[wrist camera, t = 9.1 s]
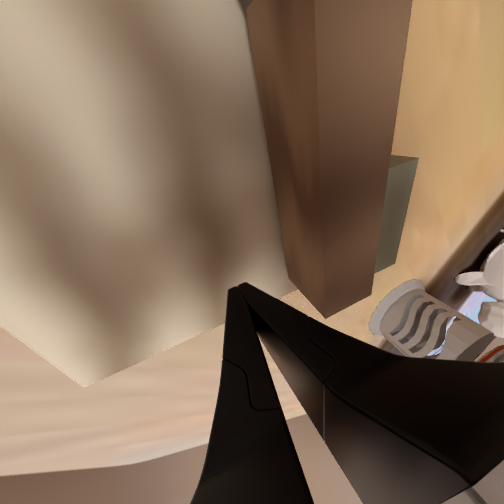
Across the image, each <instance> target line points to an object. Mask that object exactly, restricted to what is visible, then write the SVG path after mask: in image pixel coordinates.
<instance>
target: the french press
mask: <svg viewBox="0 0 504 504" xmlns="http://www.w3.org/2000/svg"><path fill="white" fill-rule="evenodd" d="M430 301H432V302H433V303H434V304H433V305H428V303H429V302H430ZM427 305H428V306H427ZM440 308H443V309H445V311H444V312H442V313H440V314H439V315H438V316H437V317H436V315H437V310H438V309H440ZM429 316H430V325H429V329H428V331H427V332H426V334H425V335H424V336H423V334H424V332H425V328H426V324H427V320H428V317H429ZM451 316H456V318H455V319H454V320H453V323H452V325H451V326H450V328H449V329H448V330H447V334H446V323H447V319H448V317H451ZM439 330H440V333H439ZM369 331H370V332H371V333H373V334H374V335H383V336H384V337H385V338H386V339H387V340H389V341H390V342H391V343H392V344H393V345H394V346H395V347H396V348H397V349H399V350H400V351H401V352H402V353H403V354H404V355H405V356H407V357H417V358H431V359H445V360H455V359H456V358H457V357H458V356H459V355H460V356H459V357H458V359H457V360H460V361H474V360H475V359H476V358H477V357H478V356H479V355H480V354H481V353H482V352H483V351H484V350H485V348H486V347H487V346H488V345H489V344H490V342H491V341H492V339H493V337H494V333H493V332H491V331H490V330H488V329H486V328H485V327H483V326H481V325H479V324H478V323H476V322H474V321H473V320H471V319H469V318H468V317H466V316H464V315H463V314H461V313H459V312H458V311H456V310H454V309H453V308H451V307H449V306H448V305H446V304H444V303H442V302H441V301H439V300H437V299H436V298H434V297H432V296H431V295H429V294H427V293H426V292H425V288H424V285H423V283H422V281H421V280H416V279H413V280H410V281H407V282H404V283H403V284H401V285H400V286H398V287H397V288H395V289H394V290H392V291H391V292H390V293H389V294H388V295H387V296H386V297H385V298H384V299H383V300H382V301H381V302H380V304H379V305H378V306H377V308H376V309H375V311H374V312H373V314H372V317H371V319H370V322H369ZM445 334H446V338H445ZM413 335H414V337H413V338H412V339H411V340H408V339H406V338H405V337H410V336H413ZM438 335H439V336H438ZM427 340H428V342H427V344H426V346H425V347H420V348H417V347H416V346H415V345H416V344H420V343H423V342H425V341H427ZM444 340H445V343H444V347H443V349H442V351H441V353H439V354H437V355H431V356H427V354H429V353H430V352H431V351H432V350H434V349H436V348H439V347H440V346H441V344H442V343H443V341H444ZM502 360H503V361H504V345H501V346H498V347H496V348H494V349H493V350H491V351H489V352H488V353H486V354H485V355H484V356H483V357H482V358H480V359H479V360H478V361H477V362H492V363H499V362H500V361H501V362H503V361H502Z"/></svg>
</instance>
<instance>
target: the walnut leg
mask: <svg viewBox="0 0 504 504" xmlns="http://www.w3.org/2000/svg"><path fill="white" fill-rule="evenodd" d="M412 1H413V0H241V2H242V4H243V6H244V8H245V10H246V17H247V23H248V29H249V35H250V41H251V48H252V54H253V60H254V66H255V72H256V79H257V85H258V91H259V97H260V104H261V110H262V116H263V122H264V128H265V135H266V141H267V147H268V153H269V160H270V166H271V172H272V178H273V184H274V191H275V197H276V203H277V209H278V216H279V222H280V228H281V234H282V240H283V247H284V253H285V259H286V265H287V272H288V278H289V279H290V281H291V282H292V283H293V284H294V285H295V286H296V287H297V288H298V289H299V290H300V292H301V293H302V294H303V295H304V296H305V297H306V298H307V299H308V300H309V301H310V302H311V304H312V305H313V306H314V307H315V308H316V309H317V310H318V311H319V312H320V313H321V315H322V316H323V317H324V318H325V319H326V318H328V317H330V316H332V315H334V314H336V313H337V312H339V311H341V310H343V309H345V308H347V307H349V306H351V305H353V304H354V303H356V302H358V301H360V300H362V299H364V298H366V297H368V296H370V295H371V292H372V285H373V278H374V271H375V264H376V257H377V250H378V243H379V236H380V228H381V221H382V214H383V207H384V200H385V193H386V186H387V179H388V172H389V164H390V157H391V150H392V143H393V136H394V129H395V122H396V115H397V108H398V100H399V93H400V86H401V79H402V72H403V65H404V58H405V51H406V44H407V36H408V29H409V22H410V15H411V8H412Z"/></svg>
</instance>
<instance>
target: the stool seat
mask: <svg viewBox="0 0 504 504" xmlns="http://www.w3.org/2000/svg"><path fill="white" fill-rule="evenodd" d="M418 159H419V158H415V157H404V156H394V155H391V157H390V164H389V172H388V179H387V186H386V193H385V200H384V207H383V214H382V221H381V228H380V236H379V243H378V250H377V257H376V264H375V271H374V273H377V272H379V271H381V270H383V269H385V268H387V267H389V266H391V265H393V264H395V261H396V257H397V252H398V248H399V243H400V239H401V235H402V230H403V226H404V221H405V217H406V212H407V208H408V204H409V199H410V195H411V190H412V186H413V181H414V177H415V172H416V168H417V164H418ZM244 282H247V283H249V284H251V285H253V286H255V287H256V288H258V289H260V290H262V291H264V292H266V293H267V294H269V295H271V296H273V297H275V298H277V299H278V298H280V297H282V296H284V295H286V294H288V293H291V292H293V291H295V290H297V289H298V288H297V287H296V286H295V285H294V284H293V283H292V282H291V281H290V279H289V278H288V272H287V265H286V259H285V253H284V247H283V240H282V234H281V228H280V222H279V216H278V209H277V203H276V197H275V191H274V184H273V178H272V172H271V166H270V160H269V153H268V147H267V141H266V135H265V128H264V122H263V116H262V110H261V104H260V97H259V91H258V85H257V79H256V72H255V66H254V60H253V54H252V48H251V41H250V35H249V29H248V23H247V17H246V10H245V8H244V6H243V4H242V2H241V0H0V327H1V328H3V329H4V330H5V331H7V332H8V333H10V334H11V335H12V336H14V337H15V338H16V339H18V340H19V341H21V342H22V343H23V344H25V345H26V346H27V347H29V348H30V349H31V350H33V351H34V352H36V353H37V354H38V355H40V356H41V357H42V358H44V359H45V360H46V361H48V362H49V363H51V364H52V365H53V366H55V367H56V368H57V369H59V370H60V371H62V372H63V373H64V374H66V375H67V376H68V377H70V378H71V379H72V380H74V381H75V382H77V383H78V384H79V385H81V386H82V387H83V388H84V387H87V386H89V385H91V384H93V383H95V382H97V381H100V380H102V379H104V378H106V377H108V376H111V375H113V374H115V373H117V372H119V371H121V370H124V369H126V368H128V367H130V366H132V365H134V364H137V363H139V362H141V361H143V360H145V359H147V358H150V357H152V356H154V355H156V354H158V353H160V352H163V351H165V350H167V349H169V348H171V347H173V346H176V345H178V344H180V343H182V342H184V341H186V340H189V339H191V338H193V337H195V336H197V335H199V334H202V333H204V332H206V331H208V330H210V329H212V328H215V327H217V326H219V325H221V324H223V323H225V318H226V305H227V293H228V289H230V288H232V287H234V286H238V285H239V284H241V283H244Z"/></svg>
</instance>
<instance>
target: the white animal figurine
mask: <svg viewBox="0 0 504 504" xmlns="http://www.w3.org/2000/svg"><path fill="white" fill-rule="evenodd" d="M500 232H503V233H504V229H501V230H500ZM455 281H456V282H457V283H459V284H462V285H469V287H468V289H469V290H471V291H476V292H484V293H485V294H486V295H488V296H490V297H492V298H494V299H496V300H497V302H483V303H482V304H481V310H480V312H479V314H478V320H479V322H480V325H481V326H483V327H485V328H486V329H488V330H490V331H491V332H493V333H494V336H497V337H500V338H504V239H502V240H501V242H500V243H499V244H498V245H497V246H496V247H495V248H494V249H493V250H492V251H491V252H490V253H489V254H488V255H487V256H486V258H485V260H484V261H483V263H482V265H481V268H480V272H467V273H463V274H459V275H457V276H456V277H455Z"/></svg>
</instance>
